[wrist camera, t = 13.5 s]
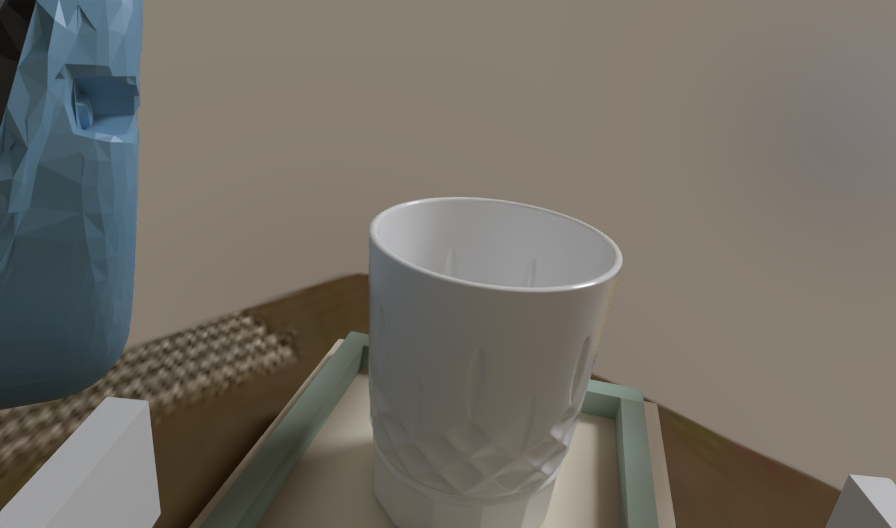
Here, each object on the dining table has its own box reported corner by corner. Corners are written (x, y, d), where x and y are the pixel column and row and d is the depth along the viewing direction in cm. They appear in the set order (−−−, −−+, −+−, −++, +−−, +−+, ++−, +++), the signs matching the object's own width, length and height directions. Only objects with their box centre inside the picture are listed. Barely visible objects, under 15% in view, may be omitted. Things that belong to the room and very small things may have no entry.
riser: (139, 697, 19) (121, 576, 17) (336, 402, 34) (339, 318, 32) (674, 870, 16) (728, 751, 14) (638, 469, 31) (662, 382, 29)
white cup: (464, 618, 18) (510, 319, 14) (313, 470, 23) (317, 218, 19) (607, 494, 24) (670, 251, 20) (459, 395, 28) (486, 185, 25)
